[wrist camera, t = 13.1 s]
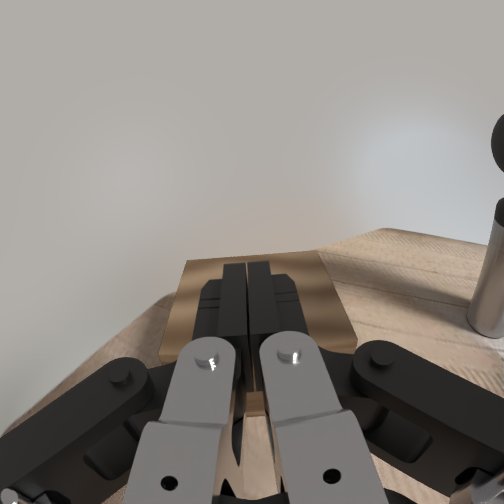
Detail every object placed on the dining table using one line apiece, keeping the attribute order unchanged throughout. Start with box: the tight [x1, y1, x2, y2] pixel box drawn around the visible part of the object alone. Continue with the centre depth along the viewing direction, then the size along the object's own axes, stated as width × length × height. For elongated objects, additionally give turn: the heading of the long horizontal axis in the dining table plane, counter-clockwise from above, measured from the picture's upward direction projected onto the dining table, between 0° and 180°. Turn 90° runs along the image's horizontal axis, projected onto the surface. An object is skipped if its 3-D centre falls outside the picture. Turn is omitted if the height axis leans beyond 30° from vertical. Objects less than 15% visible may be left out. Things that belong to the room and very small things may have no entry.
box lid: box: [158, 250, 358, 362], centre depth 33 cm, size 18×18×1 cm
